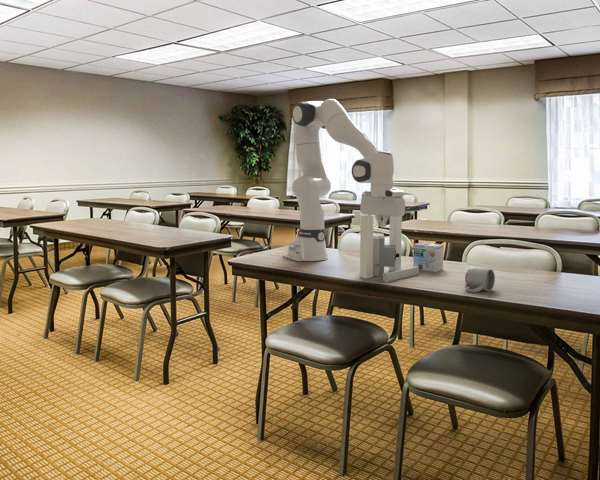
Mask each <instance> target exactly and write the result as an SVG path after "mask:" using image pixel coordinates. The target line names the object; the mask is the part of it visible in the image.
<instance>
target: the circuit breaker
mask: <svg viewBox="0 0 600 480" xmlns="http://www.w3.org/2000/svg"><path fill="white" fill-rule="evenodd" d="M385 238H386V236H385V235H373V277H374V276H375V277H376V276H377V277H383V273H385V267H387V268H389V267H395V260H396V257H399V253H396V250H395V245H389V244H385Z"/></svg>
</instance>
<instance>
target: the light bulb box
mask: <svg viewBox="0 0 600 480" xmlns="http://www.w3.org/2000/svg"><path fill="white" fill-rule="evenodd" d="M444 246H445V245H444V244H443V243H442V244H441V243H434V242H433V243H432V242H424V241H421V242H417V243H416V242H415V243H413V259H412V263H413V264H412V265H413V266H417V267H419V271H424V272H425V271H426V272H432V273H437V272H440V271H443V270H444V250H445V249H444ZM413 266H412V267H413Z"/></svg>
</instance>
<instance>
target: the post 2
mask: <svg viewBox="0 0 600 480" xmlns="http://www.w3.org/2000/svg"><path fill="white" fill-rule="evenodd" d="M402 231H403V216H401V217H396V216H389V234H388V235H389V236H388V237H389V238H388V239H389V241H388V242H389V243H388V245H395V250H396V253H399V257H396V260H395V267H388V272H391V271H395V270H400V269H402V235H403V234H402Z"/></svg>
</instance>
